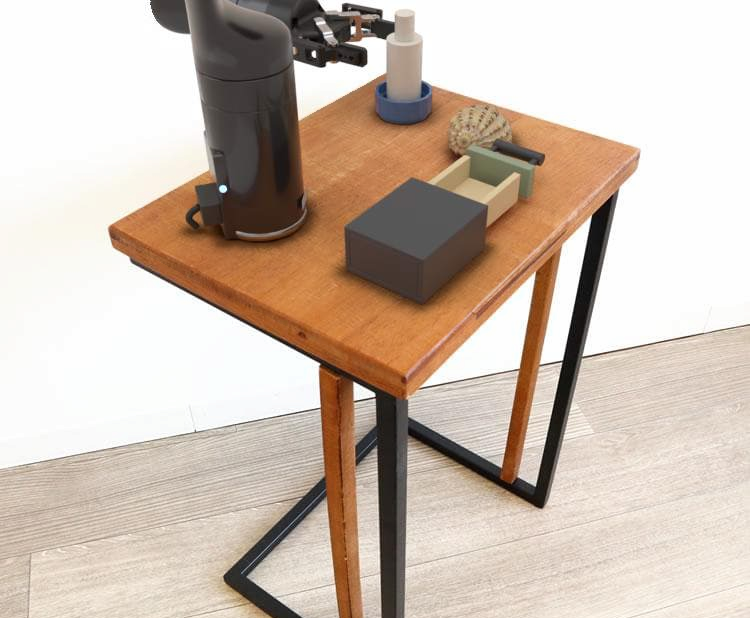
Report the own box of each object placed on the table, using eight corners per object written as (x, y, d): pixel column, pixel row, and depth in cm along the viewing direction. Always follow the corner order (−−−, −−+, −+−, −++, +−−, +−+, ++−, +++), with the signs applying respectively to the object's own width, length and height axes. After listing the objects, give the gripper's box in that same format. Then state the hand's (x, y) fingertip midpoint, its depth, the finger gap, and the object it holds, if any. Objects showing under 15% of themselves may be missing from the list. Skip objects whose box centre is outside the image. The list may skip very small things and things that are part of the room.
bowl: (385, 129, 105) (385, 106, 103) (368, 104, 110) (368, 81, 108) (439, 120, 106) (440, 97, 104) (420, 96, 111) (421, 73, 109)
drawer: (489, 157, 98) (491, 129, 95) (550, 178, 94) (554, 149, 92) (417, 213, 89) (418, 183, 87) (482, 238, 86) (484, 208, 83)
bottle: (392, 118, 106) (393, 21, 97) (381, 103, 109) (381, 8, 100) (425, 113, 107) (428, 16, 98) (414, 98, 110) (416, 3, 101)
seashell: (448, 152, 106) (443, 157, 97) (451, 102, 104) (447, 102, 95) (510, 156, 105) (511, 162, 96) (515, 106, 103) (516, 106, 94)
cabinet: (410, 219, 90) (411, 176, 86) (484, 249, 86) (488, 205, 82) (345, 270, 84) (343, 226, 80) (422, 305, 79) (423, 260, 76)
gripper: (241, 8, 103) (352, 35, 97) (308, -27, 112) (414, -4, 105) (248, 68, 108) (354, 97, 102) (312, 30, 117) (413, 55, 110)
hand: (384, 45), depth 103 cm, fingers open, 8 cm apart
